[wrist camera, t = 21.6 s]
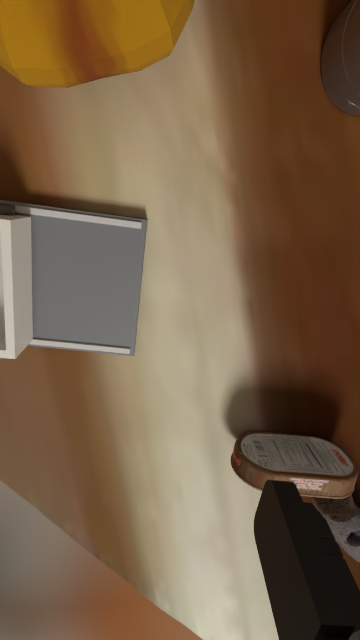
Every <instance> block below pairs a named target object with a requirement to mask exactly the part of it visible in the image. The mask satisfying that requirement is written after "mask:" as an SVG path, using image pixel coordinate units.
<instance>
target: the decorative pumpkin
mask: <svg viewBox="0 0 360 640" xmlns="http://www.w3.org/2000/svg"><path fill="white" fill-rule="evenodd" d="M193 4H194V0H0V66H1V67H3V68H4V69H5V70H7V71H8V72H9V73H11V74H12V75H13V76H15V77H16V78H17V79H18V80H20V81H21V82H22V83H24V84H27V85H30V86H33V87H65V88H69V87H72V86H76V85H79V84H83V83H86V82H90V81H94V80H97V79H101V78H105V77H110V76H115V75H120V74H125V73H131V72H136V71H140V70H142V69H144V68H146V67H148V66H150V65H152V64H154V63H156V62H158V61H160V60H162V59H164V58H166V57H168V56H169V55H170V53H171V52H172V50H173V48H174V46H175V44H176V42H177V40H178V38H179V36H180V34H181V32H182V30H183V27H184V25H185V23H186V21H187V19H188V17H189V15H190V13H191V11H192V8H193Z"/></svg>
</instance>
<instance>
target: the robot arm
mask: <svg viewBox="0 0 360 640" xmlns="http://www.w3.org/2000/svg"><path fill="white" fill-rule="evenodd" d="M321 74H322V81H323V84H324V87H325V90H326V92H327V94H328V96H329V98H330V99H331V101H332V102H333V103H334V104H335V105H336V106H337V107H338V108H339V109H341V110H342V111H344V112H346V113H348V114H351V115H354V116H360V0H351V1H350V3H349V5H348V6H347V7H346V8H345V9H344V10H343V11H342V13H341V14H340V15H339V16H338V17H337V18H336V20H335V22H334V23H333V25H332V26H331V28H330V30H329V32H328V35H327V37H326V39H325V42H324V46H323V50H322V55H321ZM254 536H255V541H256V545H257V549H258V554H259V558H260V562H261V566H262V570H263V574H264V579H265V583H266V587H267V591H268V595H269V599H270V603H271V608H272V612H273V616H274V620H275V624H276V628H277V633H278V637H279V640H360V591H359V588H358V586H357V584H356V582H355V580H354V578H353V576H352V574H351V571H350V569H349V567H348V565H347V563H346V561H345V560H344V559H343V554H342V552H341V550H340V548H339V546H338V544H337V543H336V542H335V537H334V535H333V533H332V531H331V529H330V527H329V525H328V523H327V520H326V519H325V518H324V517H323V516H322V514H321V513H320V512H319V511H318V510H317V509H316V508H315V506H314V505H313V504H312V503H304V502H303V501H302V498H301V496H300V494H299V491H298V489H297V487H296V485H295V484H294V483H293V482H289V481H278V480H267V481H266V482H265V485H264V488H263V491H262V494H261V498H260V501H259V504H258V507H257V511H256V514H255V519H254Z"/></svg>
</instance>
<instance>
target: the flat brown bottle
mask: <svg viewBox="0 0 360 640" xmlns="http://www.w3.org/2000/svg"><path fill="white" fill-rule="evenodd" d="M231 465H232V468H233V470H234V472H235V473H236V474H237V475H238V477H239V478H240V479H242V480H243V481H244V482H245V483H247V484H248V485H250V486H252V487H253V488H255V489H258V490H260V491H263V488H264V485H265V482H266V481H267V480H278V481H289V482H293V483H294V484H295V485H296V487H297V489H298V491H299V494H300V496H309V497H321V498H333V499H341V498H345V497H348V496H350V495H351V494H352V493H353V492H354V489H355V483H356V480H357V476H358V467H357V465H356V463H355V462H354V460H353V459H352V458H351V457H350V456H349V455H348V454H347V453H346V452H345V451H344V450H343V449H342V448H341V447H339V446H338V445H336V444H334V443H332V442H330V441H328V440H325V439H322V438H319V437H314V436H307V435H296V434H286V433H275V432H264V431H250V432H246V433H243V434H242V435H240V436H239V437H238V438H237V440H236V442H235V445H234V450H233V453H232V456H231Z"/></svg>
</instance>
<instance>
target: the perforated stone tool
mask: <svg viewBox="0 0 360 640" xmlns="http://www.w3.org/2000/svg"><path fill="white" fill-rule="evenodd" d="M312 500H313V503H314V505H315V508H316V509H317V510H318V511H319V512H320V513H321V514H322V516H323V517H324V518H325V519H326V520H327V523H328V525H329V527H330V529H331V531H332V533H333V535H334V537H335V540H336V541H337V542H338V544H339V545H340V546H341V547H342V548H343V549H344V550H345V551H346V552H347V553H348V554H349V555H350V556H352V557H353V558H354V559H355V560H357V561H358V562H360V508H359V507H358V506H357V505H356V504H355V503H354V502H353V498H352V494H351V495H350V496H348V497H345V498H341V499H333V498H321V497H312Z"/></svg>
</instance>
